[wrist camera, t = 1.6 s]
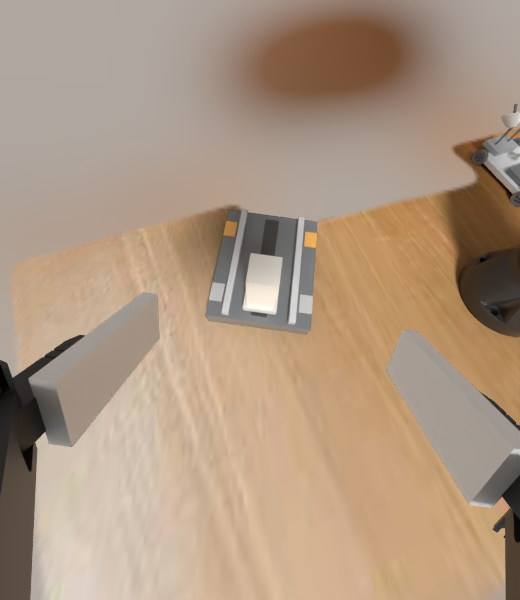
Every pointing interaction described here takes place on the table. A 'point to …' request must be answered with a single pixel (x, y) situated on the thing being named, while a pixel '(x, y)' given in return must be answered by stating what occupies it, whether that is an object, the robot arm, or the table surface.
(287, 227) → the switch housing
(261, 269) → the switch slider
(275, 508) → the table surface
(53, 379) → the robot arm
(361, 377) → the table surface
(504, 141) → the toy car
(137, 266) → the table surface
